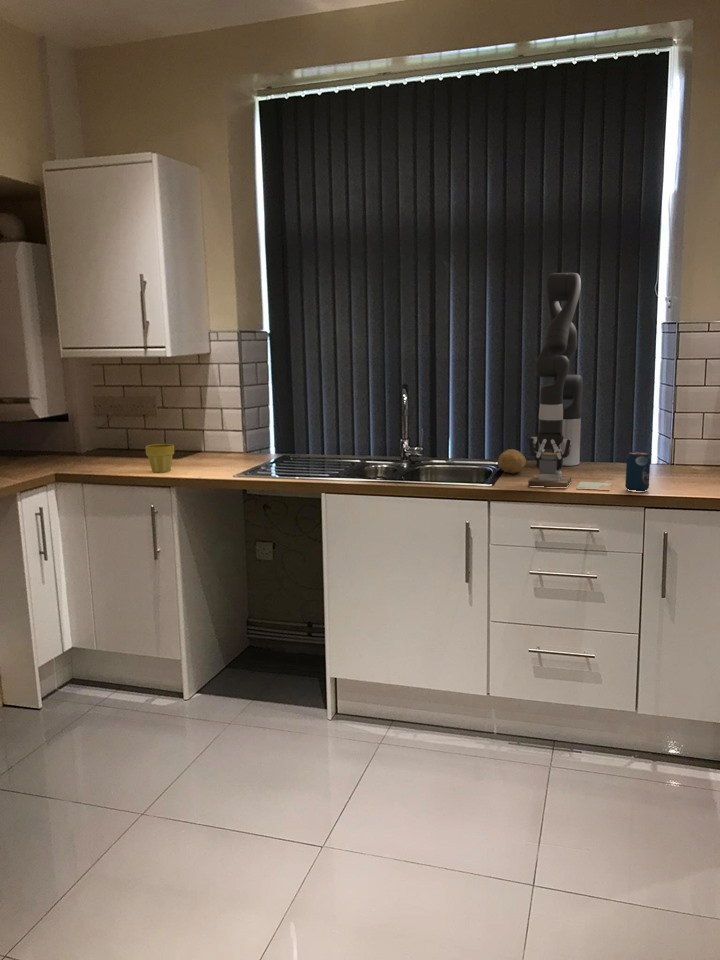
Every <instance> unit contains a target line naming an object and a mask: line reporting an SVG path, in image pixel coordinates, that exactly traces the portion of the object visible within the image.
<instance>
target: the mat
mask: <svg viewBox="0 0 720 960" xmlns="http://www.w3.org/2000/svg"><path fill="white" fill-rule="evenodd" d="M611 484H612V485H613V483H612V482H611V483H610V482H594V481H591V482H590V481H579V483H578V484H577V486H576V488H577V487H579V488H581V487H582V488H585V487H589V488H595V487H596V488H599V487H600V486H602V485H604V486H609V485H611Z"/></svg>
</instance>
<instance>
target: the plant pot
mask: <svg viewBox="0 0 720 960" xmlns="http://www.w3.org/2000/svg"><path fill="white" fill-rule="evenodd" d="M144 448H145V455H146V456H147V458H148V462H149V464H150V468H151V471H152V473H156V472H162V473H168V472H167V471H169V472H171V471H172V470H171V468H172V463H173V456H174V454H175V445H174V444H171V443H155V444H149V445H148V444H147V445H146V446H145V447H144Z"/></svg>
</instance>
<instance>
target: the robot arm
mask: <svg viewBox="0 0 720 960" xmlns="http://www.w3.org/2000/svg"><path fill="white" fill-rule="evenodd" d="M581 288H582V282H581V276H580V275H579V273H576V272H553V273H550V274H548V276H547V277H546V280H545V293H546V294H545V295H546V302H547V310H548V316H549V317H548V318H549V319H548V320H549V324H548V327H547V329H546V334H545V339H544V345H543V347H542V349H541V351H540V353H539V355H538V357H537V358H536V361H535V364H534V371H535V374H536V375H537V376H538V377H539V378H551V384H545V385H542V386H541V387H540V392H539V393H540V395H539V396H540V398H539V401H540V402H539V411H538V435H537V436H530V437H529V438H528V444H529V449H530V455H531V456H534V457H536V468H538V469H537V470H539V460H541V454H543V453H545V450H554V451H553V453H556V454H557V457H558V459H557V470H559V471H560V472H561V469H563V467H564V466H565V467H566V466H570V467H571V466H578V465H580V454H581V422H582V418H581V417H582V400H583V399H582V398H583V388H584V387H583V386H584V381H583V377H582V375H580V374H569V371H570V365H571V364H570V360H571V358H572V357H573V356H574V354H575V353H576V352H577V349H578V331H577V329H576V325H575V324H574V323H573V322H572V321H573V318H574V315H575V312H576V309H577V306H578V302H579V298H580V295H581V290H582V289H581ZM560 302H566V303H565V305H564V307H563V308H562V307H561V305H560ZM565 400H566V401H567V400H568V401H570V400H571V401H572V402H571V404H569V405H568V406H566V407H563V401H565ZM537 442H538V443H539V444H540V446H539V447H538V451H537V447H536V443H537Z"/></svg>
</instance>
